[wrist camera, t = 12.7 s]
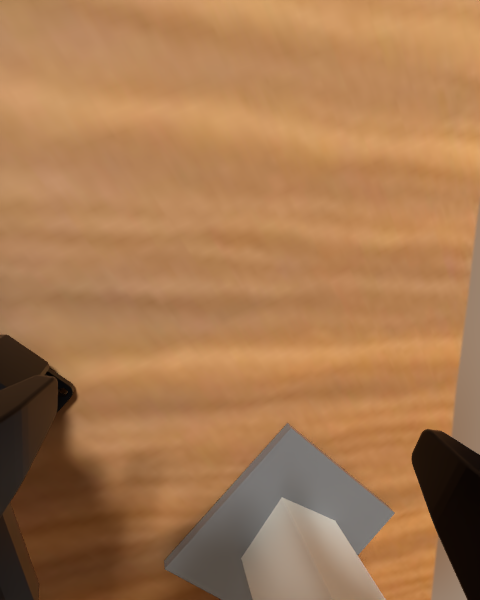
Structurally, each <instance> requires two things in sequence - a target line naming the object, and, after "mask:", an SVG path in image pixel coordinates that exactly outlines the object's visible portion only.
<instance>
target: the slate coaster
mask: <svg viewBox="0 0 480 600" xmlns="http://www.w3.org/2000/svg"><path fill="white" fill-rule="evenodd" d="M282 497H283V498H285V499H287V500H290V501H292V502H294V503H296V504H299V505H301V506H303V507H305V508H308V509H310V510H312V511H314V512H317V513H319V514H321V515H323V516H326V517H328V518H330V519H333V520H335V521H336V523H337V524H338V526H339V527H340V529H341V531H342V532H343V534H344V535H345V537H346V538H347V540H348V541H349V543H350V545H351V546H352V548H353V549H354V551H355V552H356V554H357V556H358V555H359V553H360V552H361V551H362V550H363V549H364V548H365V547H366V545H367V544H368V543H369V542H370V541H371V540H372V539H373V537H374V536H375V535H376V534H377V533H378V532H379V531H380V529H381V528H382V527H383V526H384V525H385V524H386V523H387V521H388V520H389V519H390V518H391V517H392V516H393V515H394V512H393V511H392V509H391V508H390V507H389V506H388V505H386V504H385V503H384V502H383V501H382V500H380V499H379V498H378V497H377V496H375V495H374V494H373V493H372V492H371V491H369V490H368V489H367V488H366V487H365V486H363V485H362V484H361V483H360V482H359V481H357V480H356V479H355V478H354V477H352V476H351V475H350V474H349V473H348V472H346V471H345V470H344V469H343V468H342V467H340V466H339V465H338V464H337V463H335V462H334V461H333V460H332V459H331V458H329V457H328V456H327V455H326V454H325V453H323V452H322V451H321V450H320V449H319V448H317V447H316V446H315V445H314V444H312V443H311V442H310V441H309V440H308V439H306V438H305V437H304V436H303V435H302V434H300V433H299V432H298V431H297V430H296V429H294V428H293V427H292V426H291V425H289V424H288V423H287V424H286V425H285V426H284V428H283V429H282V430H281V431H280V432H279V433H278V434H277V435H276V437H275V438H274V439H273V440H272V441H271V442H270V443H269V444H268V445H267V447H266V448H265V449H264V450H263V451H262V452H261V453H260V454H259V456H258V457H257V458H256V459H255V460H254V461H253V462H252V463H251V464H250V466H249V467H248V468H247V469H246V470H245V471H244V472H243V473H242V474H241V476H240V477H239V478H238V479H237V480H236V481H235V482H234V483H233V485H232V486H231V487H230V488H229V489H228V490H227V491H226V492H225V493H224V495H223V496H222V497H221V498H220V499H219V500H218V501H217V502H216V503H215V505H214V506H213V507H212V508H211V509H210V510H209V511H208V512H207V514H206V515H205V516H204V517H203V518H202V519H201V520H200V521H199V522H198V524H197V525H196V526H195V527H194V528H193V529H192V530H191V531H190V533H189V534H188V535H187V536H186V537H185V538H184V539H183V540H182V541H181V543H180V544H179V545H178V546H177V547H176V548H175V549H174V550H173V551H172V553H171V554H170V555H169V556H168V557H167V558H166V559H165V560H164V565H165V570H167V571H169V572H171V573H173V574H175V575H177V576H178V577H180V578H182V579H184V580H186V581H188V582H190V583H191V584H193V585H195V586H197V587H199V588H201V589H203V590H205V591H206V592H208V593H210V594H212V595H214V596H216V597H218V598H219V599H221V600H253V599H252V596H251V592H250V588H249V585H248V581H247V577H246V574H245V570H244V567H243V563H242V559H241V558H242V556H243V555H244V553H245V552H246V550H247V549H248V547H249V546H250V544H251V543H252V541H253V540H254V538H255V537H256V535H257V534H258V532H259V531H260V529H261V528H262V526H263V525H264V523H265V522H266V520H267V519H268V517H269V516H270V514H271V513H272V511H273V510H274V508H275V507H276V505H277V504H278V502H279V501H280V499H281V498H282Z"/></svg>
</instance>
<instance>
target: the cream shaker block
mask: <svg viewBox="0 0 480 600" xmlns="http://www.w3.org/2000/svg"><path fill="white" fill-rule="evenodd" d="M241 559H242V563H243V567H244V570H245V574H246V577H247V581H248V585H249V588H250V592H251V596H252V599H253V600H386V599H385V598H384V596H383V595H382V593H381V592H380V590H379V588H378V587H377V585H376V584H375V582H374V581H373V579H372V577H371V576H370V574H369V573H368V571H367V570H366V568H365V566H364V565H363V563H362V562H361V560H360V559H359V557H358V556H357V554H356V552H355V551H354V549H353V548H352V546H351V545H350V543H349V541H348V540H347V538H346V537H345V535H344V534H343V532H342V531H341V529H340V527H339V526H338V524H337V523H336V521H335V520H333V519H330V518H328V517H326V516H323V515H321V514H319V513H317V512H314V511H312V510H310V509H308V508H305V507H303V506H301V505H299V504H296V503H294V502H292V501H290V500H287V499H285V498H283V497H282V498H281V499H280V501H279V502H278V504H277V505H276V507H275V508H274V510H273V511H272V513H271V514H270V516H269V517H268V519H267V520H266V522H265V523H264V525H263V526H262V528H261V529H260V531H259V532H258V534H257V535H256V537H255V538H254V540H253V541H252V543H251V544H250V546H249V547H248V549H247V550H246V552H245V553H244V555H243V556H242V558H241Z"/></svg>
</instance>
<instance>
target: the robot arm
mask: <svg viewBox="0 0 480 600" xmlns="http://www.w3.org/2000/svg"><path fill="white" fill-rule="evenodd" d="M60 388H65V389H66V390H67V391H68V393H66V394H63V393H61V392H60V391H59V389H60ZM73 392H74V386H73V384H72V383H71V382H69V381H68V380H66V379H65V378H63V377H62V376H60V375H59V374H57V373H56V372H54V371H53V370H52V369H50V368H49V364H48V362H46V361H45V360H44V359H42V358H41V357H39V356H38V355H36V354H35V353H33V352H32V351H30V350H29V349H27V348H26V347H25V346H23V345H22V344H20V343H19V342H17V341H16V340H14V339H13V338H11V337H10V336H8V335H0V600H39V582H38V579H37V577H36V574H35V571H34V568H33V565H32V562H31V560H30V557H29V554H28V551H27V548H26V546H25V543H24V540H23V537H22V534H21V532H20V529H19V526H18V523H17V520H16V517H15V515H14V512H13V509H12V506H11V503H10V501H11V500H12V498H13V497H14V495H15V494H16V492H17V490H18V489H19V487H20V485H21V484H22V482H23V480H24V478H25V476H26V474H27V472H28V471H29V469H30V467H31V465H32V463H33V460H34V458H35V456H36V454H37V452H38V450H39V448H40V446H41V444H42V442H43V440H44V438H45V436H46V434H47V432H48V430H49V428H50V426H51V424H52V422H53V420H54V418H55V415H56V413H57V412H58V411H59V410H60V409H61V408H62V407H63V405H64V404H65V403H66V402H67V401H68V400H69V399H70V398H71V396H72V394H73ZM412 464H413V467H414V470H415V473H416V476H417V479H418V482H419V484H420V487H421V490H422V493H423V496H424V499H425V501H426V504H427V507H428V510H429V513H430V516H431V518H432V521H433V524H434V526H435V529H436V531H437V533H438V536H439V538H440V540H441V542H442V544H443V547H444V549H445V551H446V553H447V555H448V558H449V560H450V562H451V564H452V567H453V569H454V571H455V573H456V576H457V578H458V580H459V582H460V584H461V587H462V589H463V591H464V593H465V595H466V598H467V600H480V455H479V454H477V453H476V452H474V451H472V450H471V449H469V448H468V447H466V446H465V445H463V444H461V443H460V442H458V441H457V440H455V439H454V438H452V437H451V436H449V435H447V434H446V433H444V432H442V431H438V430H431V429H426V430H424V431H423V432H422V433H421V435H420V438H419V440H418V442H417V444H416V446H415V448H414V451H413V453H412Z"/></svg>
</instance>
